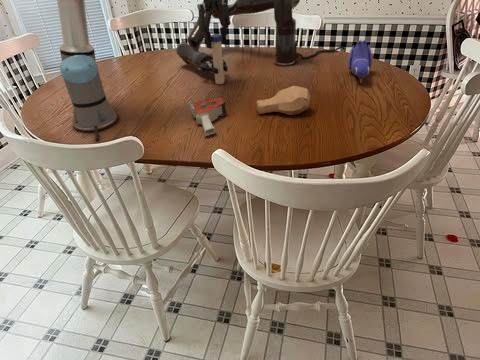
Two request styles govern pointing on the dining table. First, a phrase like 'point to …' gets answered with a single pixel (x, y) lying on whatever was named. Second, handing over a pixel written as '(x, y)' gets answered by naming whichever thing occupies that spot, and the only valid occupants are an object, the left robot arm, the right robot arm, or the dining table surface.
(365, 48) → the toy
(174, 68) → the dining table surface
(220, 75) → the cream plastic cylinder
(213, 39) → the lid
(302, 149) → the dining table surface
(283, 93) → the squash
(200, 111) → the tape dispenser
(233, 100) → the dining table surface
